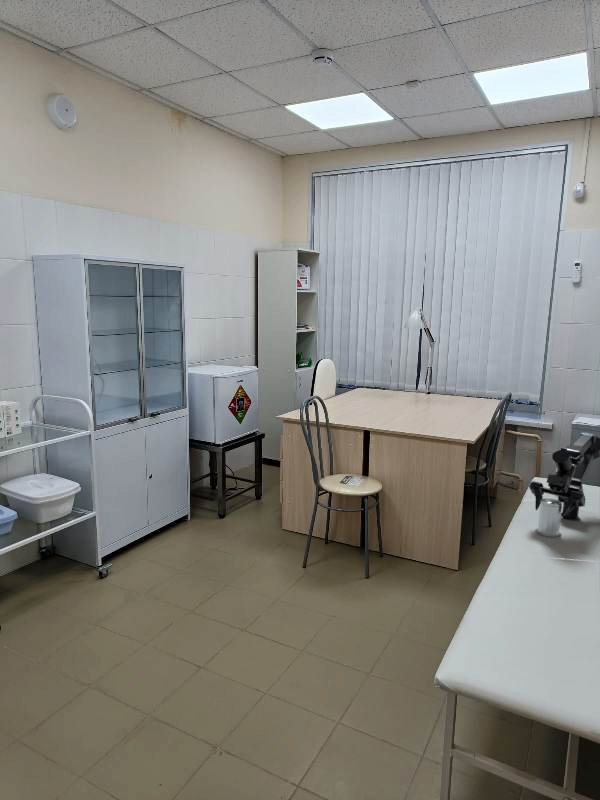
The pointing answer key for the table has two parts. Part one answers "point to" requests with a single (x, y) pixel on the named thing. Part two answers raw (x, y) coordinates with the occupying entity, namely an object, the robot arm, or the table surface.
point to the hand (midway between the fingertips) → (548, 513)
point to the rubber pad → (547, 536)
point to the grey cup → (549, 517)
